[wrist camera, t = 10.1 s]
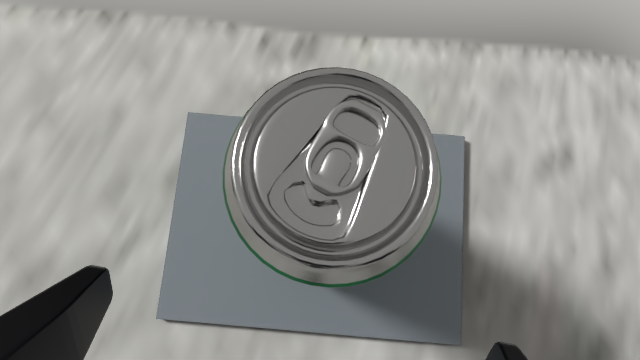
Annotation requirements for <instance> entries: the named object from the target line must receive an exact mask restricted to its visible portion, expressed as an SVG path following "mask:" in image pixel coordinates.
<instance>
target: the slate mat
mask: <svg viewBox="0 0 640 360" xmlns="http://www.w3.org/2000/svg"><path fill="white" fill-rule="evenodd" d="M242 118H243V117H236V116H224V115H213V114H201V113H190V112H188V117H187V123H186V129H185V136H184V142H183V149H182V155H181V162H180V168H179V175H178V181H177V187H176V194H175V200H174V207H173V213H172V220H171V226H170V233H169V239H168V246H167V252H166V258H165V265H164V271H163V278H162V284H161V291H160V297H159V304H158V310H157V316H156V319H165V320H177V321H188V322H200V323H211V324H223V325H234V326H245V327H257V328H268V329H280V330H291V331H303V332H314V333H326V334H337V335H349V336H360V337H372V338H383V339H395V340H406V341H418V342H429V343H441V344H452V345H461V304H462V250H463V195H464V141H465V136H454V135H442V134H432V136H433V140H434V143H435V146H436V149H437V153H438V157H439V160H440V167H441V177H442V183H441V197H440V201H439V206H438V210H437V214H436V216H435V219H434V221H433V224H432V226H431V228H430V230H429V232H428V233H427V235H426V237H425V238H424V240H423V242H422V243H421V244H420V246H419V247H418V248H417V249H416V250H415V251H414V253H413V254H412V255H411V256H410V257H409V258H408V259H406V260H405V261H404V262H403V263H402V264H400V265H399V266H398V267H397V268H395V269H394V270H392V271H390V272H388V273H387V274H385V275H383V276H382V277H379V278H377V279H374V280H372V281H369V282H366V283H363V284H358V285H354V286H349V287H333V288H327V287H319V286H311V285H307V284H304V283H300V282H297V281H293V280H291V279H289V278H287V277H285V276H283V275H281V274H278V273H277V272H275V271H274V270H272V269H271V268H269V267H268V266H266V265H265V264H263V263H262V262H261V261H260V260H259V259H258V258H257V257H256V256H255V255H254V254H253V253H252V252H251V251H250V250H249V249H248V248H247V246H246V245H245V244H244V242H243V241H242V240H241V238H240V237H239V236H238V234H237V232H236V230H235V228H234V226H233V224H232V222H231V220H230V217H229V214H228V211H227V208H226V205H225V200H224V193H223V165H224V159H225V153H226V150H227V147H228V144H229V141H230V139H231V136H232V135H233V133H234V131H235V129H236V127H237V125H238V123H239V122H240V120H241V119H242Z"/></svg>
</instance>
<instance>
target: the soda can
mask: <svg viewBox="0 0 640 360" xmlns="http://www.w3.org/2000/svg"><path fill="white" fill-rule="evenodd" d="M441 183H442V177H441V167H440V160H439V157H438V153H437V149H436V146H435V143H434V140H433V136H432V134H431V132H430V129H429V127H428V125H427V123H426V121H425V119H424V118H423V116H422V115H421V113H420V112H419V110H418V109H417V108H416V106H415V105H414V104H413V103H412V102H411V101H410V100H409V98H408V97H406V96H405V95H404V94H403V93H402V92H401V91H399V90H398V89H397V88H396V87H394V86H393V85H391V84H389V83H388V82H386V81H384V80H383V79H381V78H378V77H376V76H374V75H371V74H369V73H366V72H362V71H358V70H354V69H347V68H338V67H334V68H319V69H313V70H308V71H304V72H301V73H298V74H295V75H292V76H290V77H288V78H286V79H285V80H283V81H281V82H279V83H277V84H276V85H274V86H273V87H272V88H270V89H269V90H267V91H266V92H265V93H264V94H263V95H262V96H261V97H260V98H259V99H258V100H257V101H256V102H255V103H254V104H253V106H252V107H251V108H250V109H249V110H248V111H247V112H246V114H245V115H244V116H243V118H242V119H241V120H240V122H239V123H238V125H237V127H236V129H235V131H234V133H233V135H232V136H231V139H230V141H229V144H228V147H227V150H226V153H225V159H224V165H223V193H224V200H225V205H226V208H227V211H228V214H229V217H230V220H231V222H232V224H233V226H234V228H235V230H236V232H237V234H238V236H239V237H240V238H241V240H242V241H243V242H244V244H245V245H246V246H247V248H248V249H249V250H250V251H251V252H252V253H253V254H254V255H255V256H256V257H257V258H258V259H259V260H260V261H261V262H262V263H263V264H265V265H266V266H268V267H269V268H271V269H272V270H274V271H275V272H277V273H278V274H281V275H283V276H285V277H287V278H289V279H291V280H293V281H297V282H300V283H304V284H307V285H311V286H319V287H327V288H333V287H349V286H354V285H358V284H363V283H366V282H369V281H372V280H374V279H377V278H379V277H382V276H383V275H385V274H387V273H388V272H390V271H392V270H394V269H395V268H397V267H398V266H399V265H400V264H402V263H403V262H404V261H405V260H406V259H408V258H409V257H410V256H411V255H412V254H413V253H414V251H415V250H416V249H417V248H418V247H419V246H420V244H421V243H422V242H423V240H424V238H425V237H426V235H427V233H428V232H429V230H430V228H431V226H432V224H433V221H434V219H435V216H436V214H437V210H438V206H439V201H440V197H441Z"/></svg>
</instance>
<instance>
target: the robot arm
mask: <svg viewBox="0 0 640 360" xmlns="http://www.w3.org/2000/svg"><path fill="white" fill-rule="evenodd" d="M112 296H113V291H112V285H111V279H110V274H109V270H108V269H107V268H105V267H100V266H94V265H89V266H86V267H84V268H83V269H81V270H79V271H77V272H76V273H74V274H72V275H70V276H69V277H67V278H65V279H64V280H62V281H60V282H58V283H57V284H55V285H53V286H51V287H50V288H48V289H46V290H45V291H43V292H41V293H39V294H38V295H36V296H34V297H32V298H31V299H29V300H27V301H25V302H24V303H22V304H20V305H19V306H17V307H15V308H13V309H12V310H10V311H8V312H6V313H5V314H3V315H1V316H0V360H83V359H84V357H85V355H86V353H87V351H88V349H89V347H90V345H91V343H92V341H93V339H94V336H95V334H96V332H97V330H98V328H99V326H100V324H101V322H102V320H103V317H104V315H105V313H106V311H107V309H108V307H109V305H110V303H111V300H112ZM486 360H528V359H527V358H526V356H525V355H524V354H523V353H522V351H521V350H520V349H519V348H518V347H517V346H516V345H514V344H510V343H504V342H497V343H495V344H494V346H493V348H492V349H491V351H490V353H489V354H488V356H487V358H486Z"/></svg>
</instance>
